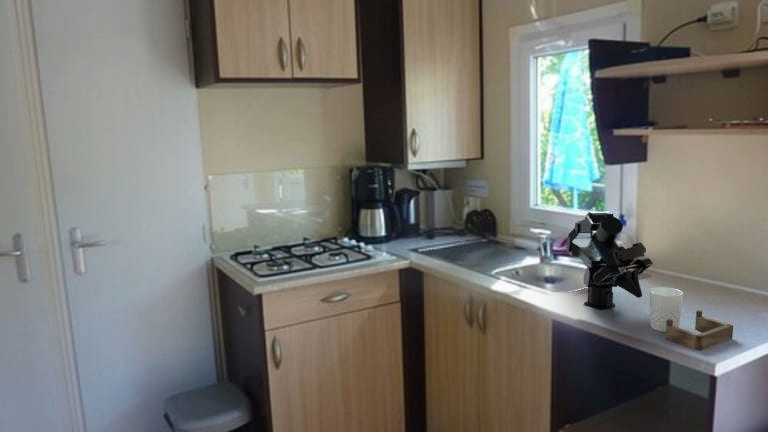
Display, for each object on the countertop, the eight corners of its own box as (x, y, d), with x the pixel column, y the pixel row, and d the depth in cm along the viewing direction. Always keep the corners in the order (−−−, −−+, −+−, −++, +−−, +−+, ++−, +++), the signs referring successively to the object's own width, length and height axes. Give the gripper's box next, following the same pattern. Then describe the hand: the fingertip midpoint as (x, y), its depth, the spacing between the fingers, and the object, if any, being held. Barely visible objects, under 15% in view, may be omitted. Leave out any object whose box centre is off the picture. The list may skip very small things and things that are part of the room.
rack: (665, 339, 148) (666, 320, 147) (697, 328, 155) (699, 309, 154) (699, 350, 140) (700, 330, 140) (732, 338, 147) (733, 319, 146)
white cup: (641, 326, 157) (643, 290, 155) (660, 320, 161) (661, 285, 159) (668, 335, 150) (670, 297, 149) (687, 329, 154) (689, 292, 153)
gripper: (602, 238, 158) (636, 287, 151) (648, 229, 167) (682, 275, 159) (579, 260, 166) (610, 309, 159) (624, 251, 175) (655, 296, 168)
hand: (640, 297), depth 161 cm, fingers closed
